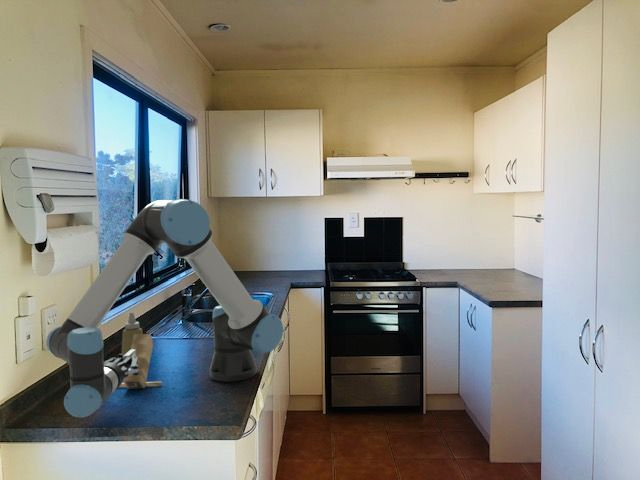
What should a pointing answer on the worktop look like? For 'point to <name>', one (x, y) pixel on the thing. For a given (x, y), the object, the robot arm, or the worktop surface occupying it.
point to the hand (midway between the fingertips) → (133, 353)
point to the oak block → (140, 360)
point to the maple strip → (145, 384)
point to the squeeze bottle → (130, 333)
